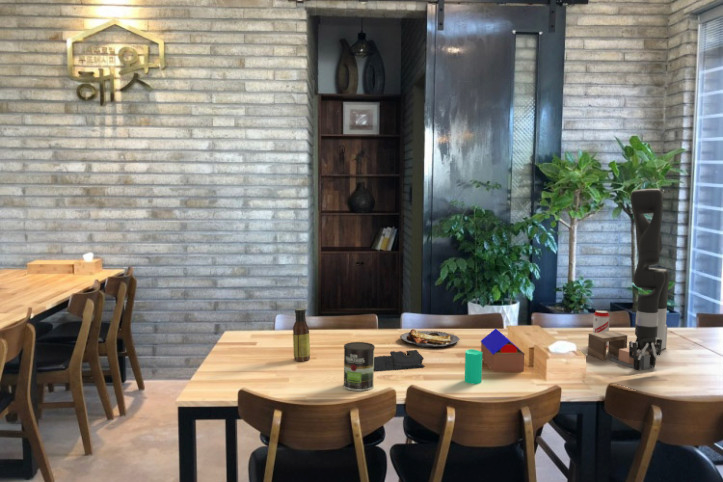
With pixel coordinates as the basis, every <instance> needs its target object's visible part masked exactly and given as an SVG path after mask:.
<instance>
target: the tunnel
mask: <svg viewBox="0 0 723 482" xmlns="http://www.w3.org/2000/svg"><path fill="white" fill-rule="evenodd" d="M587 338H588V339H587V340H588V342H587V343H588V346H587V356H590V357H592V358H596V359H598V360H601V361H606V359H607V353H609V354H611V355H615V356H617V357H618V356H619V349H624V348H628V335H627V334H624V333H620V332H616V331H613V330H609V331H607V332H598V333H593V332H591V333H588V337H587ZM607 342H608V347H607V348H606V345H607Z"/></svg>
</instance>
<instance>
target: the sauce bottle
mask: <svg viewBox="0 0 723 482" xmlns="http://www.w3.org/2000/svg"><path fill="white" fill-rule="evenodd" d="M306 312H307V311H306V308H303V307H299V308H297V307H296V308H294V314H295V322H294V323H293V327H292V340H293V342H292V344H293V358H294V361H297V362H299V363H300V362H307V361H309V360H310V359H311V357H310V356H311V343H310V329H309V326H308V324H307V321H306V320H307V319H306Z"/></svg>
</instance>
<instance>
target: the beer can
mask: <svg viewBox="0 0 723 482" xmlns="http://www.w3.org/2000/svg"><path fill="white" fill-rule="evenodd" d="M610 317H611V316H610V314H609V311H608V310H603V309H597V310H595V312H594V313H593V322H592V333H598V332H607V331H610ZM608 345H609V342H607V345H606V349H608Z"/></svg>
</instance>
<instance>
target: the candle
mask: <svg viewBox="0 0 723 482" xmlns="http://www.w3.org/2000/svg"><path fill="white" fill-rule="evenodd" d="M464 353H465V354H464V355H465V356H464V382H465V383H467V384H471V385H472V384H473V385H478V384H482V381H483V380H482V378H483V377H482V375H483V359H482V352H481V350H477V349H475V348H472V349H471V348H470V349H466V350H465V352H464Z"/></svg>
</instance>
